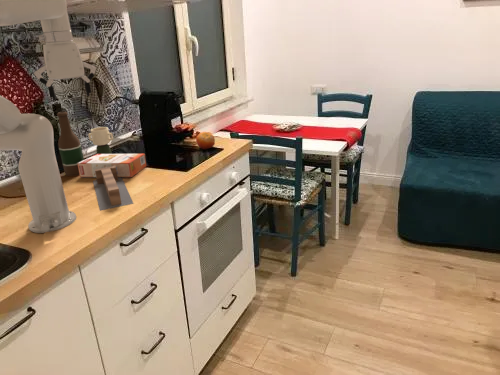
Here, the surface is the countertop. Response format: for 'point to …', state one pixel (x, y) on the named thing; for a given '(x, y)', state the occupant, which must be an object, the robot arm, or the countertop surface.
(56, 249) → the countertop surface
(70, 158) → the beer bottle
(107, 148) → the cream and green trophy
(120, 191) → the mat
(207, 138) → the fruit
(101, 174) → the bar
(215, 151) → the countertop surface
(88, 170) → the cracker box
